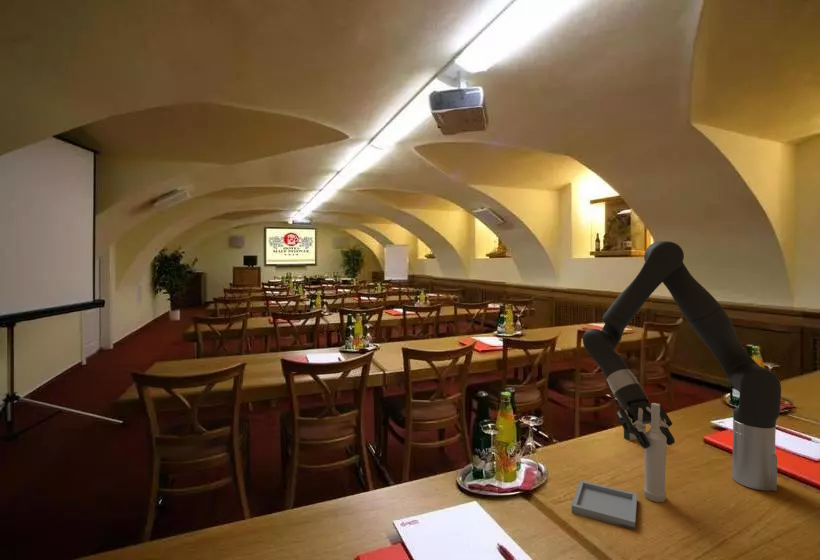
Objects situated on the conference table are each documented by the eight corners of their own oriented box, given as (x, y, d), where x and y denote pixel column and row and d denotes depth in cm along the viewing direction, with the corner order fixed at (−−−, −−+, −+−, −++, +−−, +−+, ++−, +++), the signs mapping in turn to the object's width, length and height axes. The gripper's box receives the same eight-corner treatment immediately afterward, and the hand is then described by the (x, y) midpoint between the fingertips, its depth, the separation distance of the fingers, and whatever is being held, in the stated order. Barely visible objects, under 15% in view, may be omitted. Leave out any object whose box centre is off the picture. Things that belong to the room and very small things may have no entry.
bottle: (663, 493, 112) (664, 402, 111) (668, 504, 107) (669, 408, 106) (641, 490, 114) (642, 400, 113) (645, 500, 109) (646, 406, 108)
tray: (637, 500, 109) (637, 493, 109) (635, 529, 97) (635, 522, 97) (580, 486, 116) (580, 480, 116) (571, 512, 104) (571, 505, 104)
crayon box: (639, 435, 150) (639, 403, 150) (646, 438, 147) (646, 406, 147) (623, 437, 148) (623, 405, 148) (629, 441, 145) (630, 408, 145)
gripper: (612, 384, 115) (645, 443, 104) (654, 380, 118) (691, 436, 107) (598, 397, 120) (629, 454, 109) (639, 393, 124) (673, 448, 113)
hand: (659, 445), depth 108 cm, fingers open, 7 cm apart
